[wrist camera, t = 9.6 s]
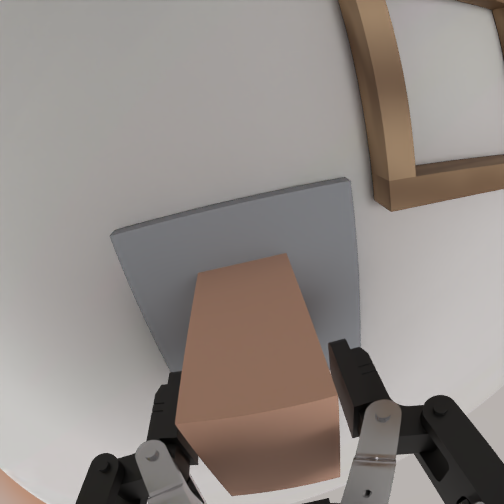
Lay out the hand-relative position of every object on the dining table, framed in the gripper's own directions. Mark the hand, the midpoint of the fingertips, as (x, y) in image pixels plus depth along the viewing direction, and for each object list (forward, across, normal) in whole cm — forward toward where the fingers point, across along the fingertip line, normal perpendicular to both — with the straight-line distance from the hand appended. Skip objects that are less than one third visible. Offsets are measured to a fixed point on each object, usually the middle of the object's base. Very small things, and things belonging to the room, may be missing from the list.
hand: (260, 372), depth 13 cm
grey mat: (+5, 0, 0) cm, 5 cm away
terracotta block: (+5, 0, 0) cm, 5 cm away
